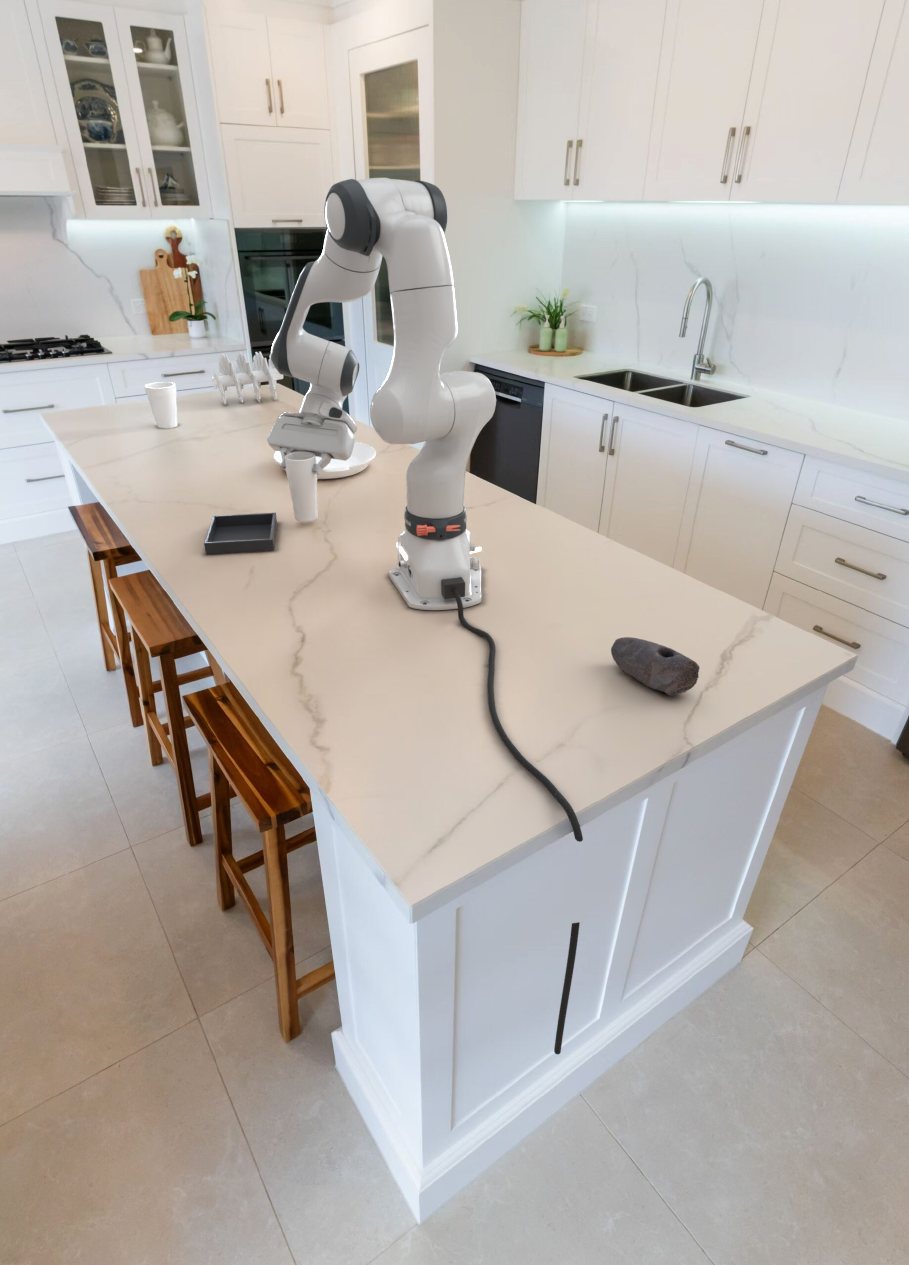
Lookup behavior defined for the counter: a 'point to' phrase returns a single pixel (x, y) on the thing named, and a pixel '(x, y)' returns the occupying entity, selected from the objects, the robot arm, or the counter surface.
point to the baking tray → (241, 533)
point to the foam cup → (163, 403)
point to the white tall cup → (302, 485)
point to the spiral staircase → (246, 375)
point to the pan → (343, 462)
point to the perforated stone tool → (655, 665)
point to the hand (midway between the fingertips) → (300, 471)
